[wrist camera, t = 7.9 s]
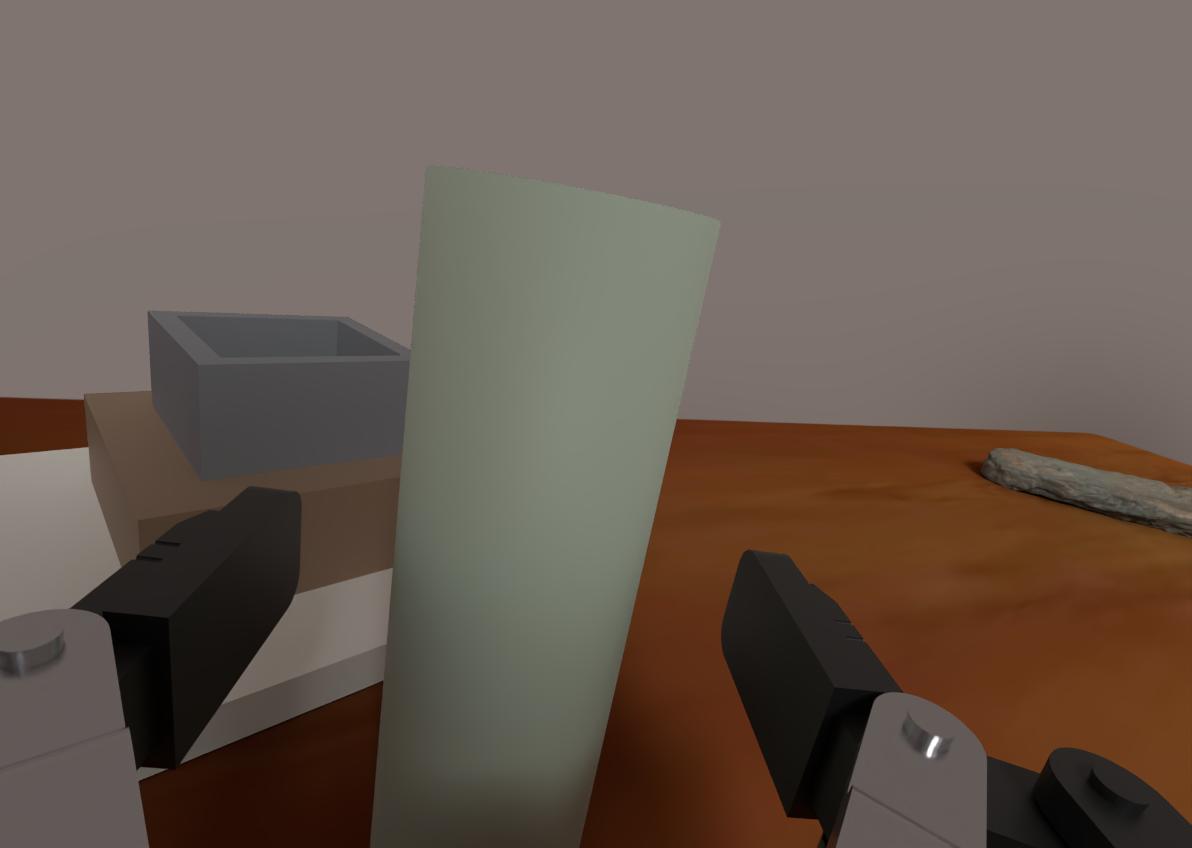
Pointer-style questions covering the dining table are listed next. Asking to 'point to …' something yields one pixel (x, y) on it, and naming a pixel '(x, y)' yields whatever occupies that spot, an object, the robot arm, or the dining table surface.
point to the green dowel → (526, 497)
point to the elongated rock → (1094, 489)
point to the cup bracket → (233, 491)
